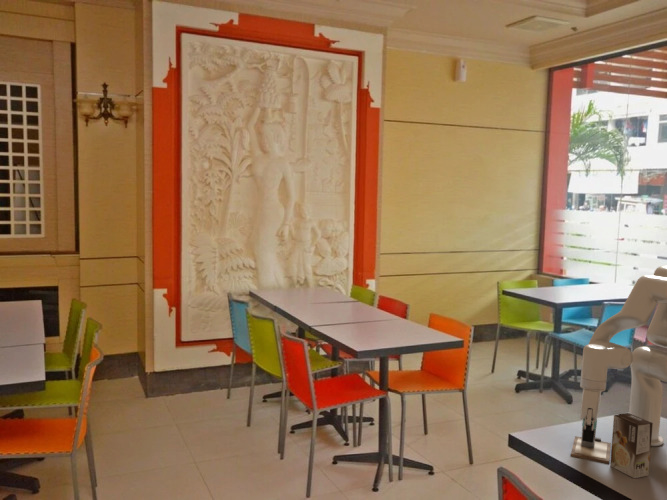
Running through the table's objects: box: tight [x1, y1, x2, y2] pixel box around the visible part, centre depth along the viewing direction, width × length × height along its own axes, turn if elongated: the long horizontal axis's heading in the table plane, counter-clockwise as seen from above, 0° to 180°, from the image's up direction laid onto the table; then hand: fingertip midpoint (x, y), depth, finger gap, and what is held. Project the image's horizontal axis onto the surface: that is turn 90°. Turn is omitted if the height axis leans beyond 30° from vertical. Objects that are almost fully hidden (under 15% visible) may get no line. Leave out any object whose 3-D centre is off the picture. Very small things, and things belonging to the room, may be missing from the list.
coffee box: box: [609, 412, 653, 479], centre depth 182 cm, size 9×6×16 cm
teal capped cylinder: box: [581, 417, 598, 448], centre depth 197 cm, size 4×4×9 cm
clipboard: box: [570, 435, 612, 465], centre depth 197 cm, size 16×11×2 cm
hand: (588, 438), depth 197 cm, fingers closed on teal capped cylinder, 4 cm apart
